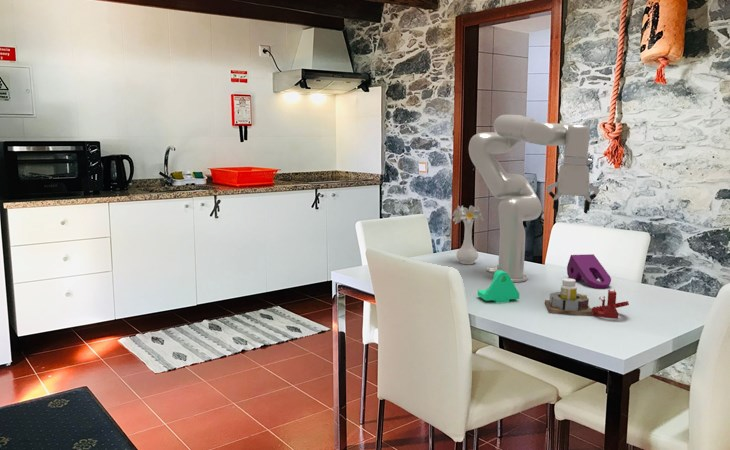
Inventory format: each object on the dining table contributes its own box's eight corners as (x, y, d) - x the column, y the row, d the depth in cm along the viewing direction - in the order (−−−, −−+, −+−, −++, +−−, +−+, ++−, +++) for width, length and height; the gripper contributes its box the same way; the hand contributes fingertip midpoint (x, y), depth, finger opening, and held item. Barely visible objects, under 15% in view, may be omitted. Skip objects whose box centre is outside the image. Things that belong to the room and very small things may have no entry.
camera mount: (509, 296, 211) (510, 266, 209) (519, 302, 203) (520, 271, 202) (476, 297, 208) (477, 268, 206) (485, 303, 201) (486, 273, 199)
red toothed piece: (602, 308, 197) (604, 282, 196) (635, 318, 187) (637, 291, 185) (579, 312, 192) (581, 286, 190) (611, 323, 181) (613, 295, 180)
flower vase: (468, 257, 274) (470, 202, 270) (489, 266, 257) (492, 207, 253) (442, 259, 269) (443, 202, 266) (462, 268, 252) (464, 208, 248)
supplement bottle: (575, 304, 196) (577, 278, 195) (576, 308, 192) (577, 282, 190) (559, 302, 198) (561, 277, 196) (559, 306, 193) (561, 280, 192)
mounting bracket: (608, 302, 226) (587, 271, 241) (615, 284, 221) (593, 254, 236) (585, 302, 225) (565, 272, 239) (591, 285, 220) (570, 254, 235)
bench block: (549, 313, 190) (549, 309, 190) (544, 303, 201) (544, 300, 201) (593, 315, 188) (593, 311, 188) (585, 305, 199) (586, 302, 199)
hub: (552, 309, 190) (553, 298, 189) (547, 300, 201) (548, 289, 200) (590, 311, 188) (591, 300, 187) (583, 301, 199) (584, 290, 198)
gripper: (600, 162, 208) (595, 212, 211) (547, 160, 211) (543, 209, 214) (604, 163, 201) (599, 215, 204) (549, 161, 204) (545, 212, 207)
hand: (570, 212), depth 209 cm, fingers open, 9 cm apart
